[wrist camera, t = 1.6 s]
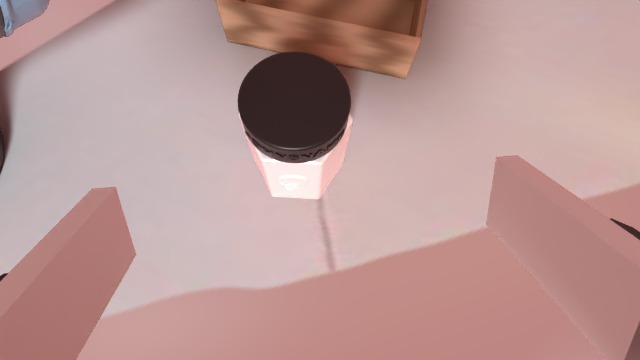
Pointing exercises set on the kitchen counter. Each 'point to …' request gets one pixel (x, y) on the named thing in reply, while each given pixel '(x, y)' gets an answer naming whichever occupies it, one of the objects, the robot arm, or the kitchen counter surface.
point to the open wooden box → (331, 30)
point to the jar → (296, 122)
